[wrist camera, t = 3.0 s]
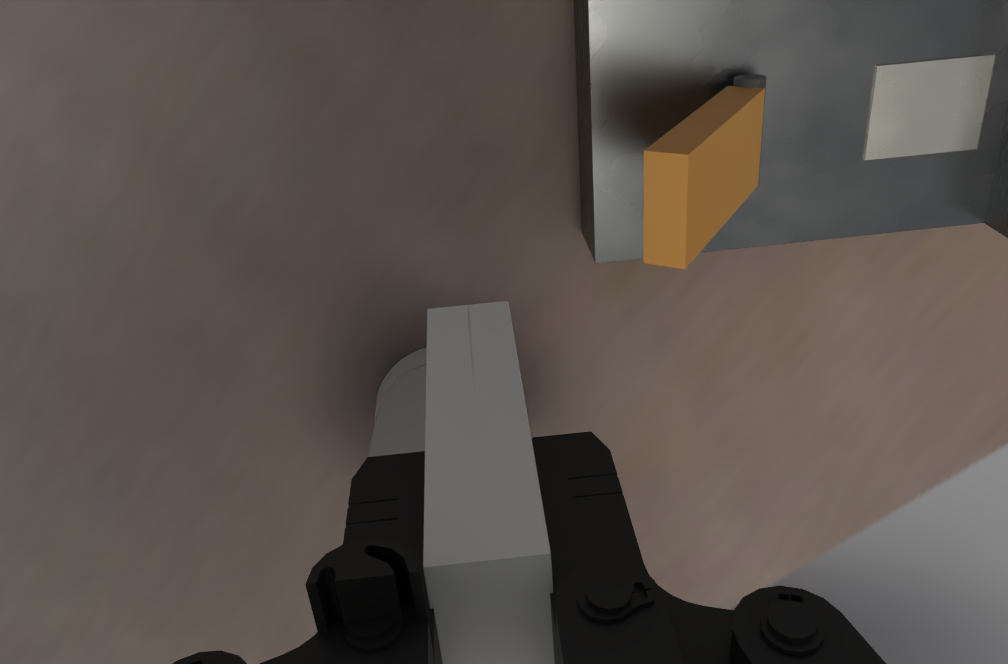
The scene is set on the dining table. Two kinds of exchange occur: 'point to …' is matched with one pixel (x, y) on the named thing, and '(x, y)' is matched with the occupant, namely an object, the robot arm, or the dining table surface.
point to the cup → (401, 408)
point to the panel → (801, 112)
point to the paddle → (702, 172)
